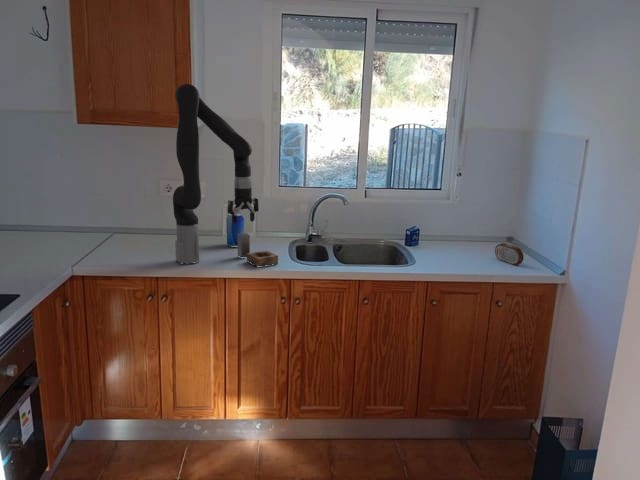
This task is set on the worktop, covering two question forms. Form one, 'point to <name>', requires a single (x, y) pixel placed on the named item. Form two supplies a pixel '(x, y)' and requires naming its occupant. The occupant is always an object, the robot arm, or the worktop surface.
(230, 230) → the beer can
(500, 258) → the tin
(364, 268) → the worktop surface
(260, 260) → the wooden square frame
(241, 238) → the peg
